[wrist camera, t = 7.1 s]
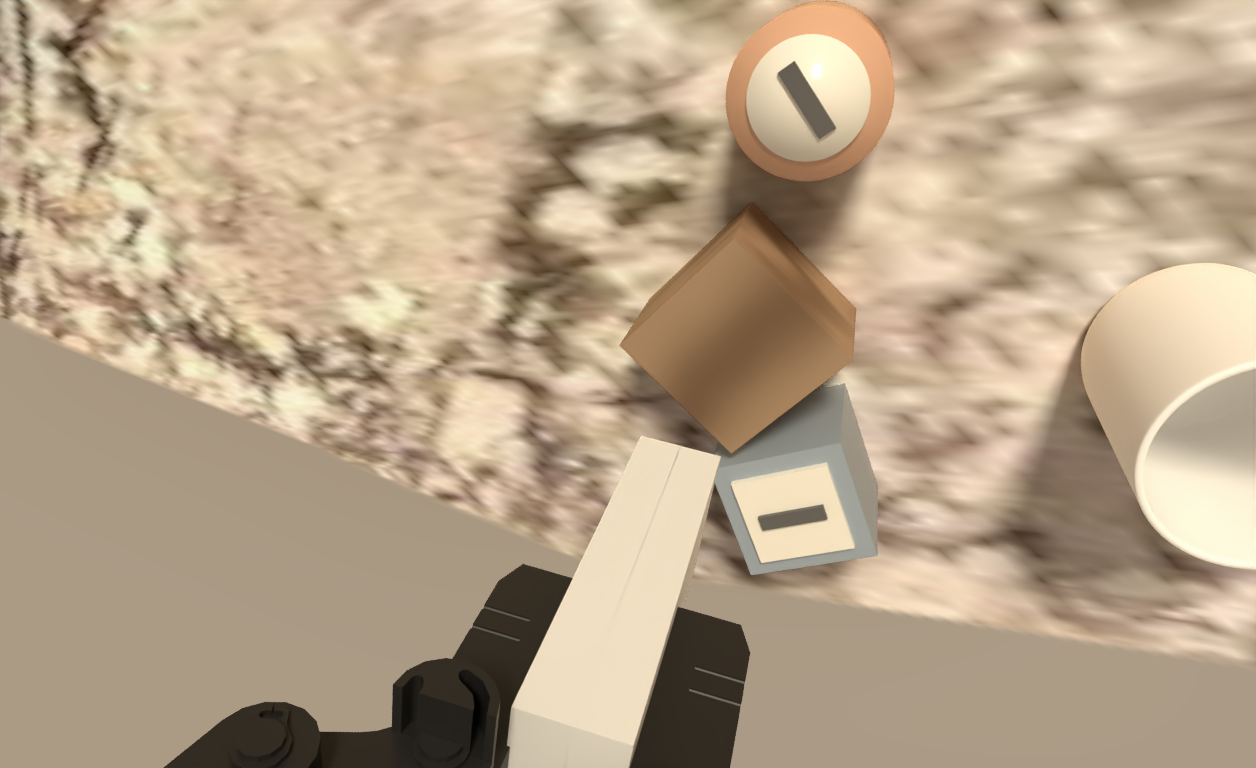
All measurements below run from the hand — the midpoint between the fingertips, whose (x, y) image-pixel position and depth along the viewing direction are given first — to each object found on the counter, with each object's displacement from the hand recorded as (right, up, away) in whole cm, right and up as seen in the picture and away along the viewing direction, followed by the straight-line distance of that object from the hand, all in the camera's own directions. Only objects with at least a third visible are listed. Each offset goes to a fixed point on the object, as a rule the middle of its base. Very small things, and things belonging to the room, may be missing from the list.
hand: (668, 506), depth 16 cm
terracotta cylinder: (+7, +15, +20) cm, 27 cm away
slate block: (+8, -1, +28) cm, 30 cm away
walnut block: (+5, +6, +26) cm, 27 cm away
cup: (+25, +3, +22) cm, 33 cm away
